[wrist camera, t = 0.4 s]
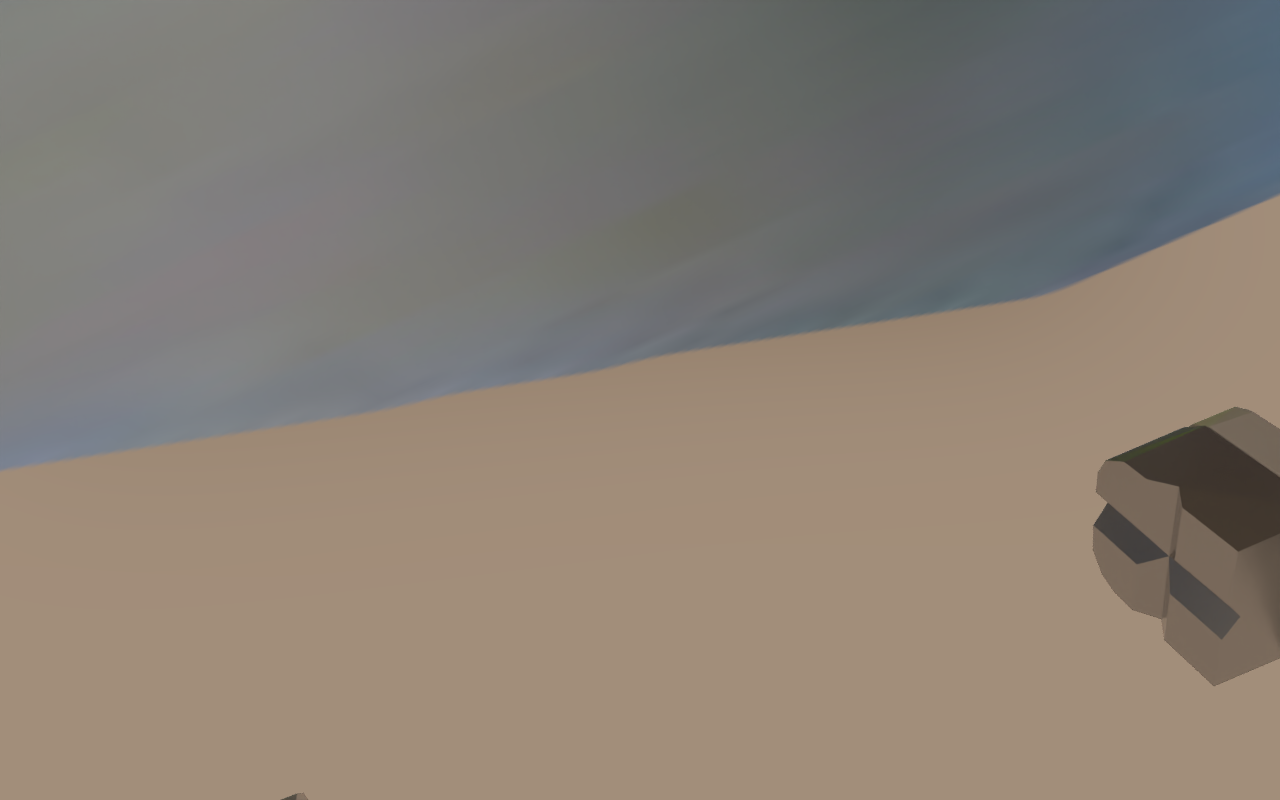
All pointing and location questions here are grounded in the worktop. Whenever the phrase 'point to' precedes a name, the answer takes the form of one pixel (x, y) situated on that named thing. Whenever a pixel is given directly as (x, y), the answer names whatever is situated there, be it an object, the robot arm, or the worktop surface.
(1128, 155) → the worktop surface
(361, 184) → the worktop surface
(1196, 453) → the robot arm
